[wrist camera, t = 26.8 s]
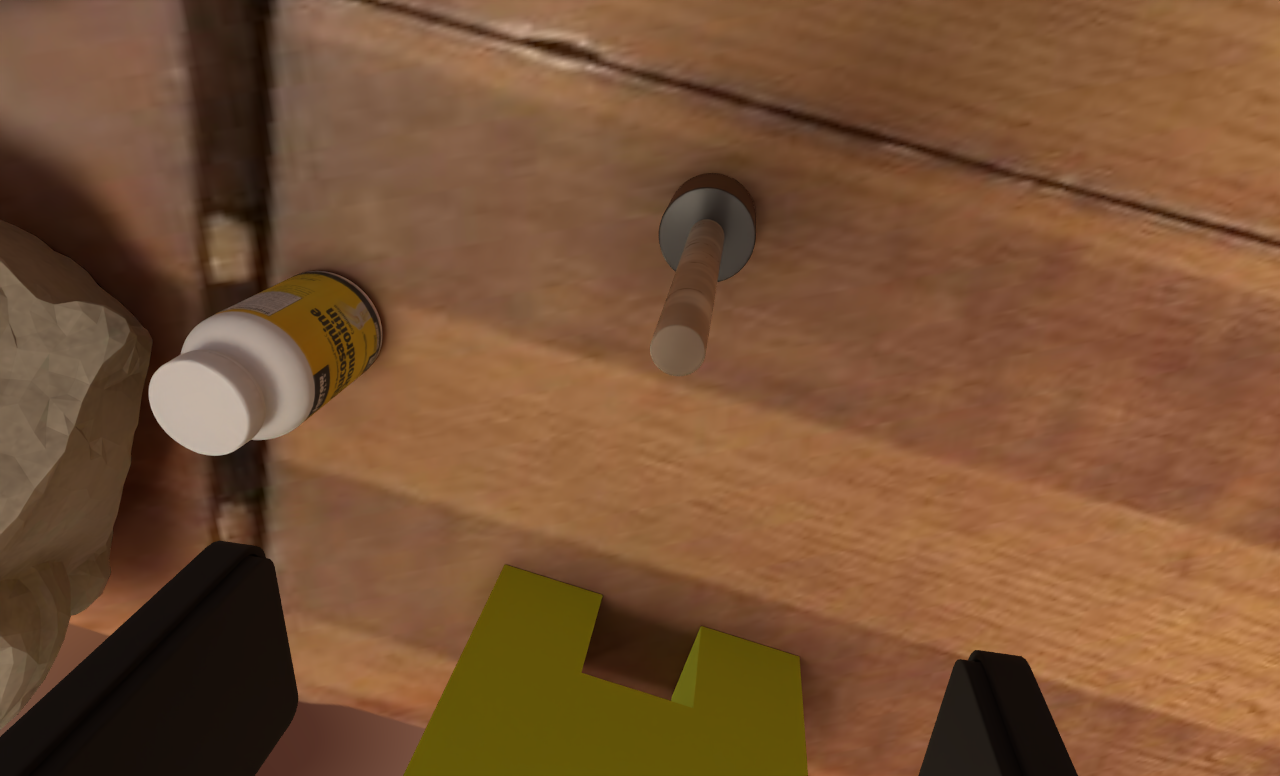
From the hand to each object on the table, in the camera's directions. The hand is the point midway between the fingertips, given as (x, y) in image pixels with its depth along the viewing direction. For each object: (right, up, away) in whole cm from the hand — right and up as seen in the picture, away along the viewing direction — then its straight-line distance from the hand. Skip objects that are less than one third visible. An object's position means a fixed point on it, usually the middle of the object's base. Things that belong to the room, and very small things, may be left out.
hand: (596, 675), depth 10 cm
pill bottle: (-17, +8, +33) cm, 38 cm away
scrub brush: (+4, +12, +27) cm, 30 cm away
